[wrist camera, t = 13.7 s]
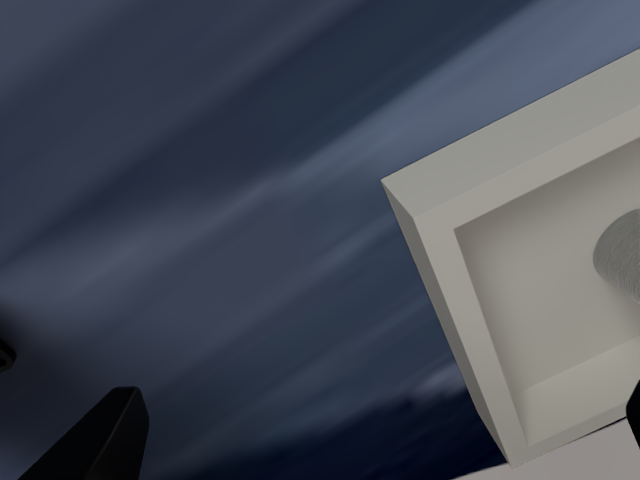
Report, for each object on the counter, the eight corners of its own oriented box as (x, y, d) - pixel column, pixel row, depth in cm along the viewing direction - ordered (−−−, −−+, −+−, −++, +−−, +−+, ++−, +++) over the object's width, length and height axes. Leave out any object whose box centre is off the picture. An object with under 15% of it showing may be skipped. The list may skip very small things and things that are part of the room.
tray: (477, 412, 28) (511, 468, 24) (380, 179, 19) (412, 217, 16) (741, 287, 27) (813, 329, 24) (760, -13, 18) (877, -14, 15)
